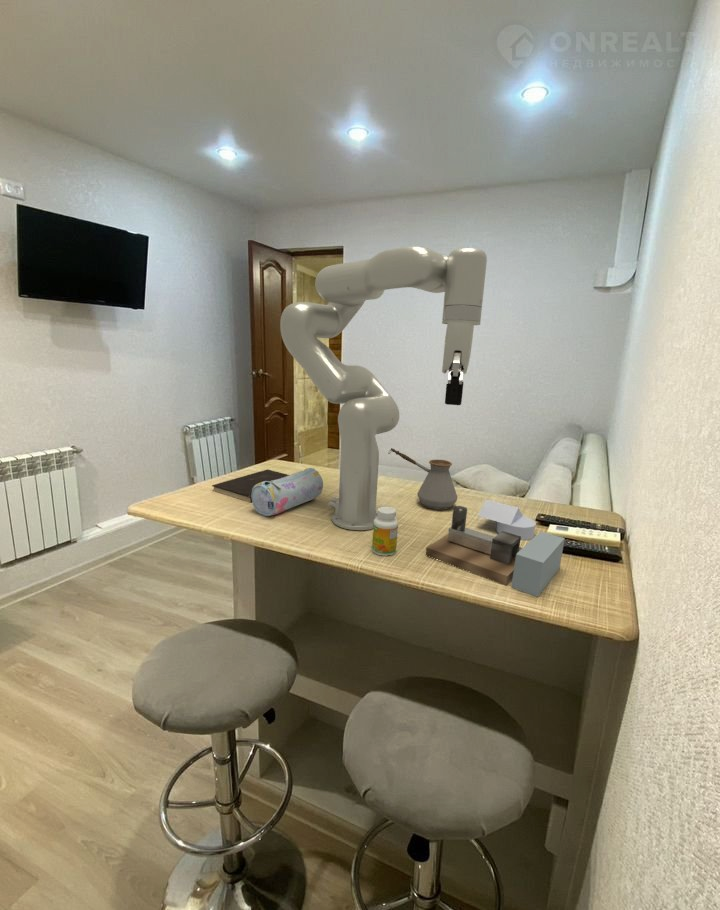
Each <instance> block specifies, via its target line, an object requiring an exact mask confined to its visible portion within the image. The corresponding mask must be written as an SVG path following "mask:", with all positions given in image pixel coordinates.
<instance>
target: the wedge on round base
mask: <svg viewBox="0 0 720 910" xmlns="http://www.w3.org/2000/svg"><path fill="white" fill-rule="evenodd" d="M477 517H479V518H483V519H485V520H486V519H487V520H491V521H493V522H496V523H497V524H496V532H497V533H498V534H499V533H501V532H502V531H504V532H507V533H511V534H514V535H518V536H521V540H520V541H531V540H532V539H533V538H534V537H535V532H536V531H535V530H536V524H537V523H536V521H535V520H534V519H533V518H531V517H528V516H525V515H523V513H522V512H521V510H520V507H517V506H513V505H511V504H510V505H509V504H505V503H502V502H497V501H493V500H490V499H487V498H486V499H485V500H484V502H483V505H482V506H481V508H480V510H479V512H478V514H477Z"/></svg>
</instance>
